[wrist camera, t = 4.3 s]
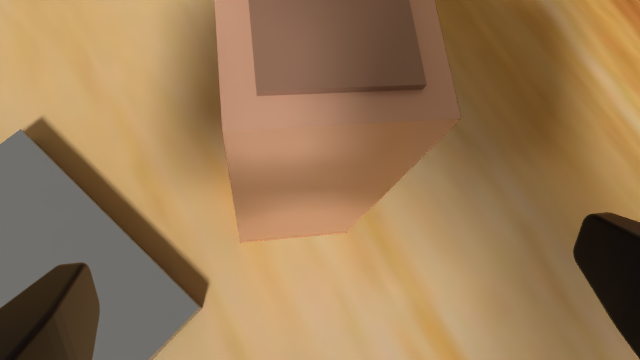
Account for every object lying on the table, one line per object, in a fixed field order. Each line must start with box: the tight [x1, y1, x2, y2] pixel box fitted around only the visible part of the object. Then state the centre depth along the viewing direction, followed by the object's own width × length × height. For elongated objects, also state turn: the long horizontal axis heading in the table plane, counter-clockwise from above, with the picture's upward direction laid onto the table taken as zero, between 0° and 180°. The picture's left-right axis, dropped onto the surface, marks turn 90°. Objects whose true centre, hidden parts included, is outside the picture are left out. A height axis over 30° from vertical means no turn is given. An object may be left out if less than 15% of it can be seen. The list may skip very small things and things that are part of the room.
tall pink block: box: [214, 0, 461, 243], centre depth 14 cm, size 4×4×12 cm
